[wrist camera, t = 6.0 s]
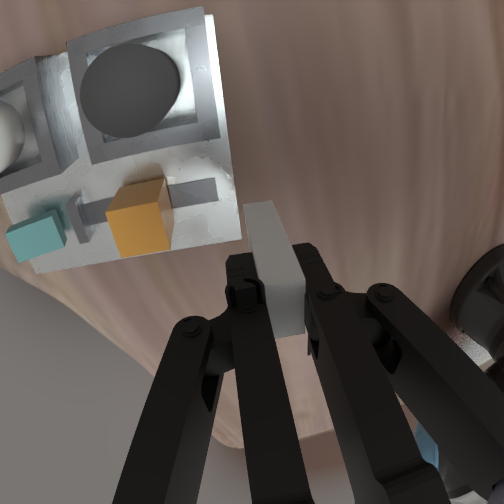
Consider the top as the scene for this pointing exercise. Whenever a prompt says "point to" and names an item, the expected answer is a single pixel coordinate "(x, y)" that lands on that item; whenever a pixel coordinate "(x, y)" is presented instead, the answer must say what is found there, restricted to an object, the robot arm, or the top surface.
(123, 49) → the button
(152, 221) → the slider knob
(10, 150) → the button
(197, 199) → the panel
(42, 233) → the teal rectangular block
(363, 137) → the top surface
